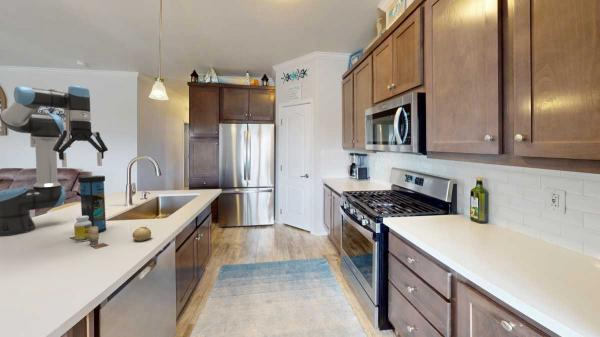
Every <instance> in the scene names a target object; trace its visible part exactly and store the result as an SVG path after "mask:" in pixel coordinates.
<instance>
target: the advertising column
mask: <svg viewBox="0 0 600 337" xmlns="http://www.w3.org/2000/svg"><path fill="white" fill-rule="evenodd" d="M77 178H78V180H77V182H78V183H79V189H80V191H79V192H80V207H81V208H80V209H81V211H80V212H81V216H89V219H88V221H91V227H93V226H98V234H101V233H103V232H106V230H107V224H106V223H107V221H106V219H107V218H106V202H105V198H106V197H105V181H106V176H105V175H84V176H78V177H77Z"/></svg>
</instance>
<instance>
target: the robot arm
mask: <svg viewBox="0 0 600 337" xmlns="http://www.w3.org/2000/svg"><path fill="white" fill-rule="evenodd" d="M13 99H14V102H13V103H12V104H11V105H10V106H9V107H7V108H5V109H2V111H1V112H0V122H1V124H2V126H4V127H6V128H7V129H9V130H11V131H13V132H16V133H20V134H30V137H31V138H32V139H34V142H35V144H34V145H35V167H36V168H35V170H36V174H35V175H36V182H35V183H34V184H33V185H32V188H28V187H27V186H21V187H13V188H7V189H3V190H0V237H5V236H13V235H19V234H20V235H21V234H25V233H28V232H29V233H30V232H32V231H35V229H36V224H35V222H34V220H33V219H32V217H31V212H30V211H34V210H41V209H42V210H43V209H49V208H50V209H51V208H54V207H61V206H62V205H63V204H64V203H65V201H66V196H67V192H66V188H65V186H62V184H61V183H60V182H59V181H58V159H59V161H61V166H62V168H67V167H68V162H67V152H65V151H66V150H68V148H69V147H70V146H71V145H72V144H73V143H74V142H76V141H77V142H81V141H82V142H88V143H89V144H90V145H91V146H92V147H93V148H94V149H95V150H96V151H97V152H96V160H97V166H99V167H102V166H103V161H102V160H103V159H104V155H105V154H104V153H105V152H107V151H109V148H108V147H107V145H106V143H105V142H104V140H103V138H101V133H100V132H99V131H94V132H92V122H91V120H92V117H91V94H90V90H89V88H88V87H85V86H79V85H69V86H68V88H67V92H62V91H55V90H48V89H45V88H36V87H30V86H22V85H21V86H19V85H18V86H17V85H16V86H15V88H14V90H13ZM40 107H46V108H54V109H63V110H66V111H69V120H70V121H69V129H70V130H65V125H64V122H63V119H62V117H61V116H60V115H58V114H55V113H50V112H37V110H38V109H39V108H40ZM69 135H70V136H71V137H70V138H69V139H68V140H67V141H66V142H65V139H66V138H67V136H69ZM92 136H93V137H94V138H95V140H96V141H95V140H94V139H93V138H92ZM64 142H65V144H63V143H64ZM57 153H58V154H57ZM57 156H58V157H57ZM57 158H58V159H57Z"/></svg>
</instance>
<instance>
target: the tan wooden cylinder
mask: <svg viewBox="0 0 600 337" xmlns="http://www.w3.org/2000/svg"><path fill="white" fill-rule="evenodd" d="M88 229H89V240H88V241H89V245H90V246H93V245H97V244H99V237H100V236H99V234H100V233H98V226H93V227H89V228H88Z"/></svg>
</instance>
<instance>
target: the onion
mask: <svg viewBox="0 0 600 337" xmlns="http://www.w3.org/2000/svg"><path fill="white" fill-rule="evenodd" d="M151 237H152V230H151V229H150V228H149V227H147V226H140V227H138V228H136V229H135V230H133V232H132V239H133V240H135V241H139V242H143V241H148V239H149V238H151Z"/></svg>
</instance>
